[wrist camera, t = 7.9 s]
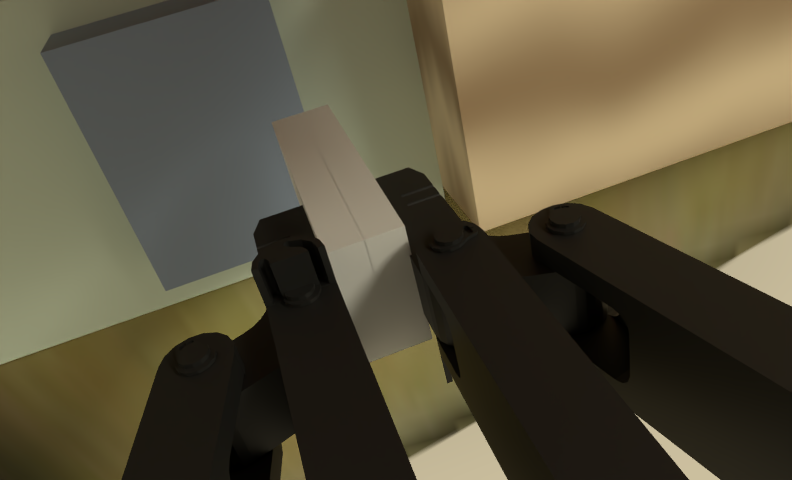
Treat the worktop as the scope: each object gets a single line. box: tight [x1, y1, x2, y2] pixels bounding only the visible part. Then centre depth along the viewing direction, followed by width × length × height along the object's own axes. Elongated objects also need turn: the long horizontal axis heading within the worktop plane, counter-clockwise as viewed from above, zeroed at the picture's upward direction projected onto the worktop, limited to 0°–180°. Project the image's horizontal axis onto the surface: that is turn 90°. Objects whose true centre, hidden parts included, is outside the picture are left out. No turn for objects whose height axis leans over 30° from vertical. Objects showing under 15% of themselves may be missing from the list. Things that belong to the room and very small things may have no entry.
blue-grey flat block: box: [40, 0, 304, 291], centre depth 21 cm, size 8×6×2 cm
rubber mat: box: [0, 0, 445, 365], centre depth 22 cm, size 11×17×1 cm, turn 103°
